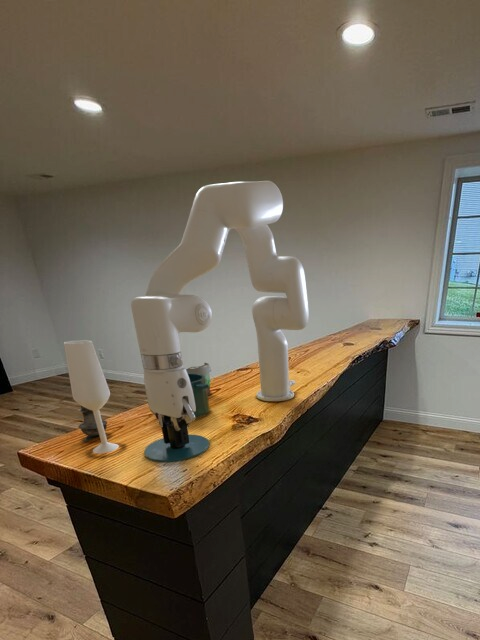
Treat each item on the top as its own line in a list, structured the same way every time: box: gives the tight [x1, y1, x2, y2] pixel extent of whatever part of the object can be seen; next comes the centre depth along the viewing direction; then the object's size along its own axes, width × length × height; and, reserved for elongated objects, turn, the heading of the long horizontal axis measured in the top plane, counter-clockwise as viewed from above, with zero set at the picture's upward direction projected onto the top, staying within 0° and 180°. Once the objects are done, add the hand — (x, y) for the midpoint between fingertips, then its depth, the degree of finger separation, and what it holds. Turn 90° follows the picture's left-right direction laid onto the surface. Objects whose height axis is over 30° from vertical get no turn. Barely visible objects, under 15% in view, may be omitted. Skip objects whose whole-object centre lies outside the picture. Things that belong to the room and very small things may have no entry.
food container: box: [186, 362, 212, 397], centre depth 116 cm, size 12×6×10 cm, turn 150°
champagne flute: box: [63, 339, 120, 454], centre depth 74 cm, size 7×7×24 cm
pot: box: [178, 373, 210, 421], centre depth 99 cm, size 13×18×10 cm
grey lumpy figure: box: [78, 405, 108, 442], centre depth 82 cm, size 6×6×12 cm
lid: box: [143, 422, 210, 463], centre depth 77 cm, size 14×14×7 cm
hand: (176, 442), depth 78 cm, fingers closed on lid, 3 cm apart
